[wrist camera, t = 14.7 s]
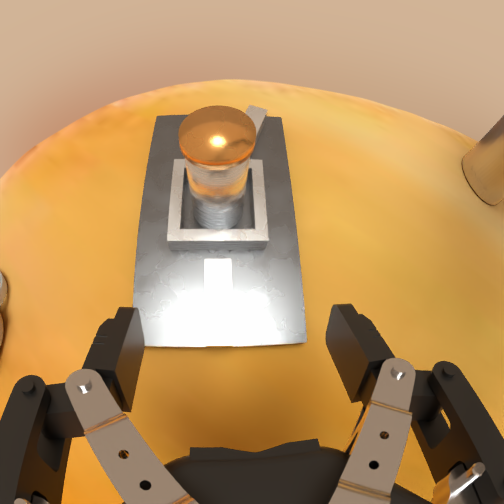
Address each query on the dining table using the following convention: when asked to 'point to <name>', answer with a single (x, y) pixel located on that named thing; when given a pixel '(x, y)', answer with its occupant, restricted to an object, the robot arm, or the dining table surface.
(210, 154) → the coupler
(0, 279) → the ceramic mug
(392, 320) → the dining table surface
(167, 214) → the coupling base
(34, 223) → the dining table surface
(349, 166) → the dining table surface
